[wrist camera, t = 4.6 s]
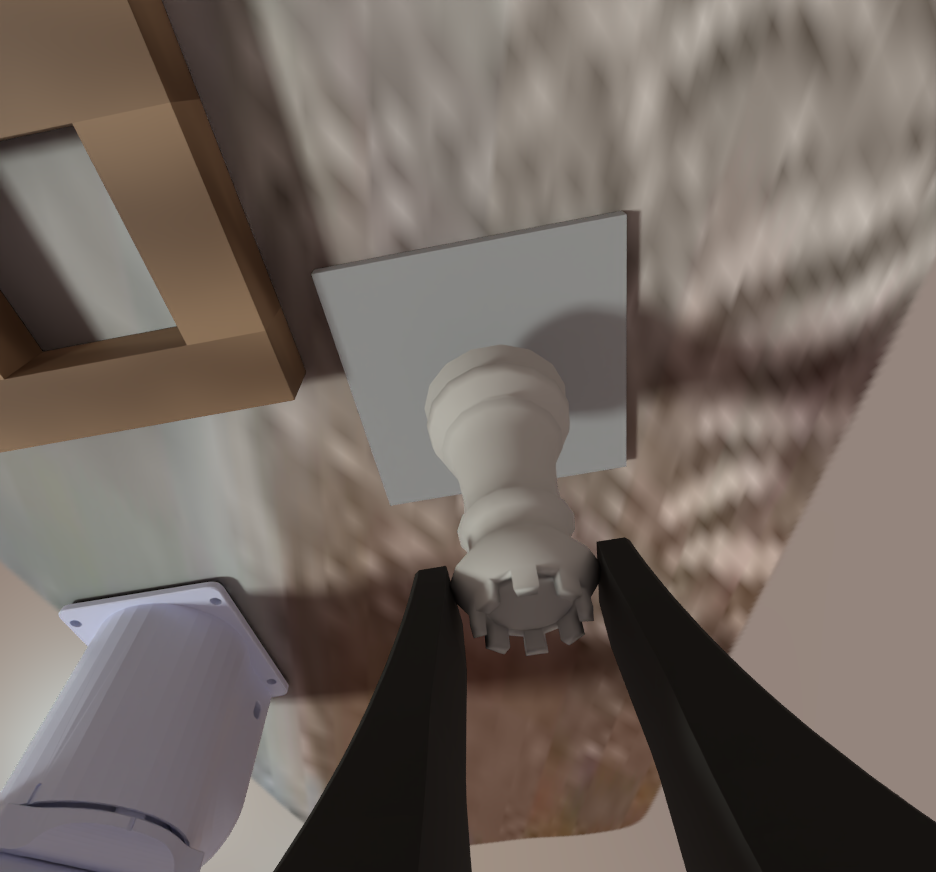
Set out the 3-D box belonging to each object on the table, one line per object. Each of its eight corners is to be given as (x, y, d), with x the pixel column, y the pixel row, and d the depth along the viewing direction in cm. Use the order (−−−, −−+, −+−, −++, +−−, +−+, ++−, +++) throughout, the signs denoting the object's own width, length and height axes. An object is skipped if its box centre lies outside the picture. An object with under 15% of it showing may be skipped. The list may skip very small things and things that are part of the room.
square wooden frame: (306, 371, 19) (294, 399, 18) (21, 423, 20) (-17, 455, 18) (153, -20, 13) (113, -33, 11) (-256, 71, 14) (-350, 71, 12)
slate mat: (622, 458, 22) (626, 466, 22) (391, 497, 23) (390, 505, 22) (621, 210, 17) (626, 214, 16) (314, 269, 17) (311, 274, 17)
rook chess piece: (501, 306, 15) (553, 514, 9) (591, 398, 17) (683, 617, 11) (395, 399, 17) (374, 628, 11) (488, 472, 19) (518, 697, 13)
